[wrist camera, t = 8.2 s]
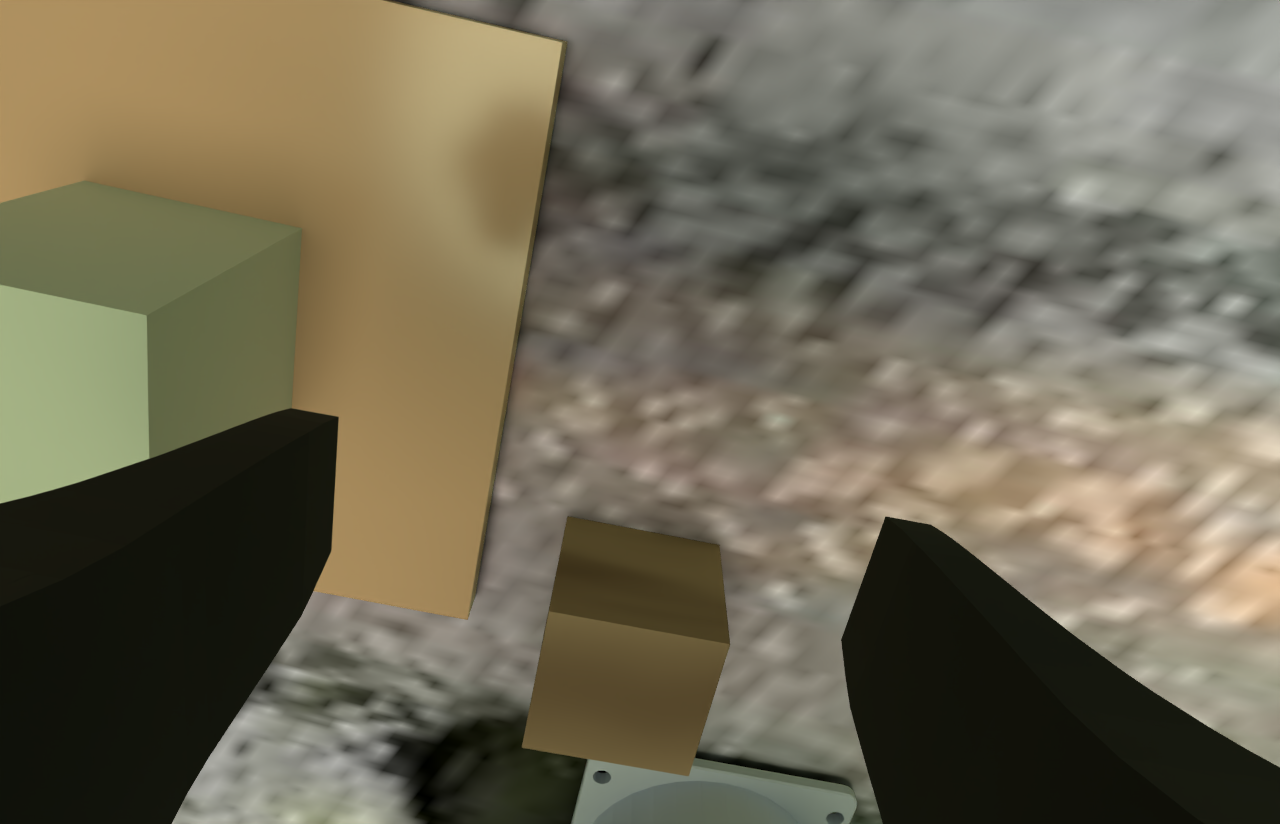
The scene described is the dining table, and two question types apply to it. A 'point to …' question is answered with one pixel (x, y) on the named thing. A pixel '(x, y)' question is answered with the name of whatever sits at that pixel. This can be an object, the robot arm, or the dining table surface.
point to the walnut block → (629, 648)
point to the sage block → (135, 329)
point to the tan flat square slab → (331, 221)
